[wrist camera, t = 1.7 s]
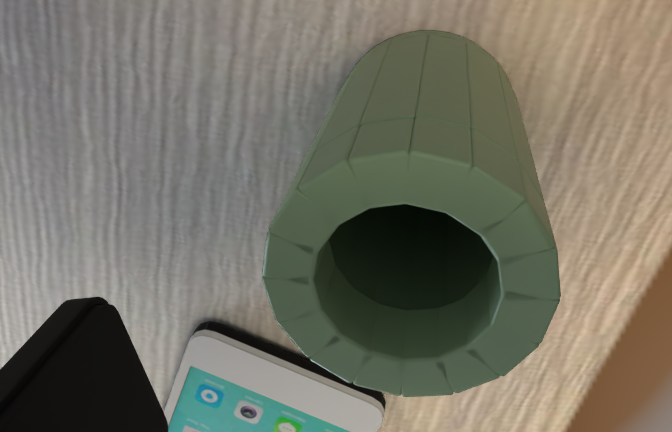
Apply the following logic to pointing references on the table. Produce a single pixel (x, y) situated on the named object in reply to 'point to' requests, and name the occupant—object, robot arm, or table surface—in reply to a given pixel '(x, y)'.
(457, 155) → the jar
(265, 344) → the smartphone
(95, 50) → the table surface
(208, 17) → the table surface
